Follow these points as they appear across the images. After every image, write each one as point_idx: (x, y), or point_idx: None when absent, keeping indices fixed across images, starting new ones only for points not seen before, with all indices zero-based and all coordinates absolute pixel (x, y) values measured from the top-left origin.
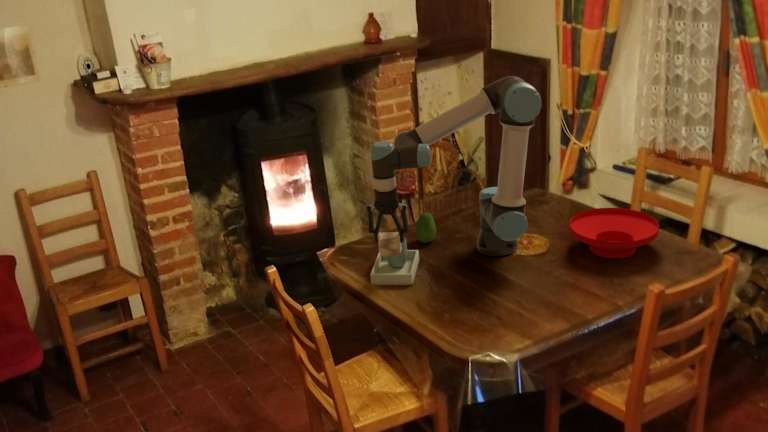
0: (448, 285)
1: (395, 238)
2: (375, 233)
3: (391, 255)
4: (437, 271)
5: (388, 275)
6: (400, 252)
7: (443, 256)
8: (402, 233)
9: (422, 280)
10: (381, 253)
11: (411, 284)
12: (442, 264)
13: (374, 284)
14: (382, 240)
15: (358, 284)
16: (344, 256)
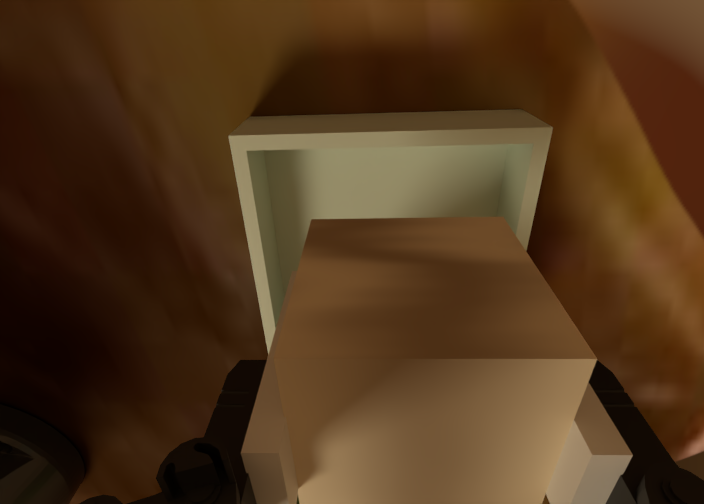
0: (23, 115)
1: (305, 386)
2: (696, 492)
3: (380, 218)
4: (162, 276)
5: (407, 128)
6: (294, 271)
7: (189, 399)
8: (166, 482)
9: (207, 177)
10: (496, 227)
11: (255, 117)
12: (165, 338)
13: (500, 110)
14: (528, 344)
15: (608, 116)
16: (650, 403)
